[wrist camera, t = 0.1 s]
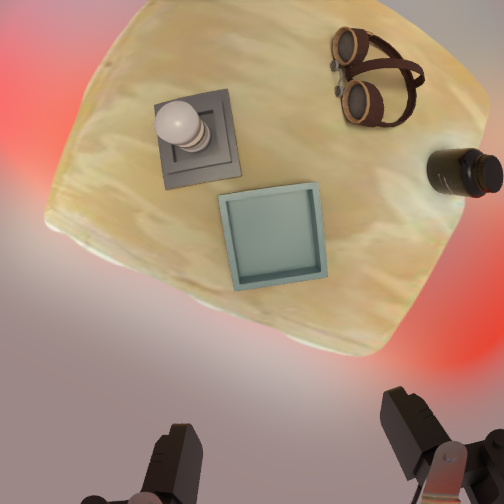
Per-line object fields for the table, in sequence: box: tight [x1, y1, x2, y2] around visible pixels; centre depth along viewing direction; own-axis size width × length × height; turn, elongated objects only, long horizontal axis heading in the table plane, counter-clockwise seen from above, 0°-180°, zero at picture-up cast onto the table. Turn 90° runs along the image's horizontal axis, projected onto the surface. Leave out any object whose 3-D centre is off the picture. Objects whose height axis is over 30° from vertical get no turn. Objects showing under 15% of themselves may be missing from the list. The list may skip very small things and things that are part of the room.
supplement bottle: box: [428, 148, 503, 198], centre depth 29 cm, size 7×7×12 cm
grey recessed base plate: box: [154, 89, 241, 190], centre depth 33 cm, size 12×10×2 cm
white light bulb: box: [154, 101, 212, 153], centre depth 29 cm, size 4×4×10 cm
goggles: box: [331, 27, 425, 127], centre depth 29 cm, size 15×13×10 cm
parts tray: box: [218, 182, 328, 291], centre depth 36 cm, size 12×12×4 cm
